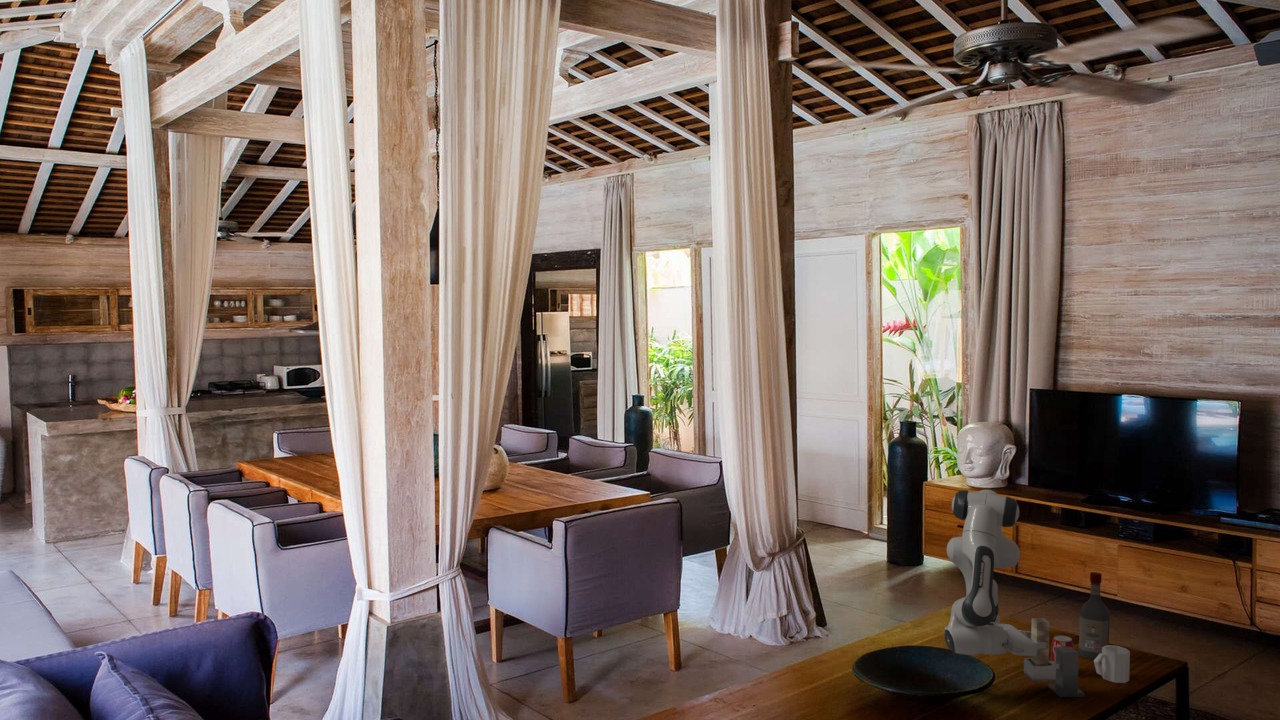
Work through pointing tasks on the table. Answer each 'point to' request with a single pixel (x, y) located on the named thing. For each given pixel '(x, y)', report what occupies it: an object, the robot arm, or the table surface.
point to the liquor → (1093, 622)
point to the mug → (1113, 664)
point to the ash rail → (1040, 634)
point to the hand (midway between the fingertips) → (1038, 639)
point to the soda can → (1060, 644)
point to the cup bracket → (1058, 672)
